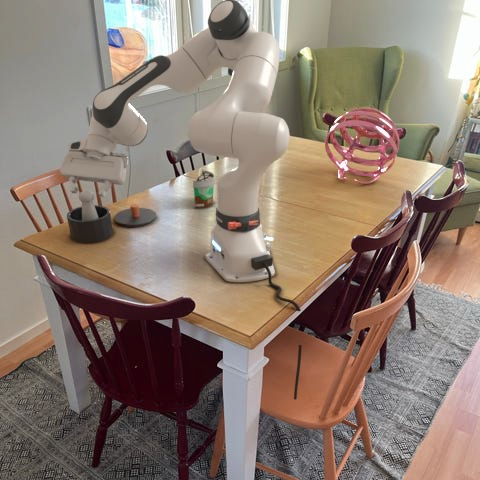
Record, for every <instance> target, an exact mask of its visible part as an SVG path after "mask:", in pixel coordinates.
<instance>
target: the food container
mask: <svg viewBox="0 0 480 480" xmlns="http://www.w3.org/2000/svg"><path fill="white" fill-rule="evenodd" d="M216 182H217V180H216V177H215V175H214V173H213V172H211V171H210V170H209V171H208V170H203V169H202V170H201V174H200V175H198V177H197V179H196V180H193V181H192V188H193V195H194V207H195V209H207V208H210V207H211V206H213V204H214V189H215V188H214V187H215V184H216Z"/></svg>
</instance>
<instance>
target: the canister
mask: <svg viewBox="0 0 480 480" xmlns="http://www.w3.org/2000/svg"><path fill="white" fill-rule="evenodd" d="M94 206H95V209H96V212H97V215H98V217H99V219H95V220H89V221H82V206H79V207H75V208H73V209H71V210H69V211H68V212H67V213H66V220H67V224H68V229H69V233H70V238H71V240H73V241H74V242H76V243H78V244H96V243H101V242H104V241H106V240H108V239H110V238H111V237H112V236H113V235H114V229H113V223H112V217H111V210H110V208H108V207H107V206H104V205H97V204H94Z"/></svg>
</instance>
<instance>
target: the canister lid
mask: <svg viewBox="0 0 480 480" xmlns="http://www.w3.org/2000/svg"><path fill="white" fill-rule="evenodd" d="M157 217H158V215H157V212H156V211H155V210H154V209H153V210H152V209H151V208H146V207H139V205H138V204H137V203H135V204H130V206H129V208H126V209H123V210H120V211H118V212H117V213H115V214H114V216H113V220H114V222H115V223H116V224H118V225H119V226H120V225H121V226H124V227H140V226H146V225H149V224H151V223H152V222H153V223H154V222H155V221H156V220H157Z"/></svg>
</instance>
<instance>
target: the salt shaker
mask: <svg viewBox="0 0 480 480" xmlns="http://www.w3.org/2000/svg"><path fill="white" fill-rule="evenodd" d="M94 195H95V194H94V192H92V190H83V191H80V192H79V193H78V200H79V201H80V202H81V207H82V221H89V220H95V219H99V217H98V215H97V212H96V209H95V206H94V205H95V204H94V199H95V196H94Z"/></svg>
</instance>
